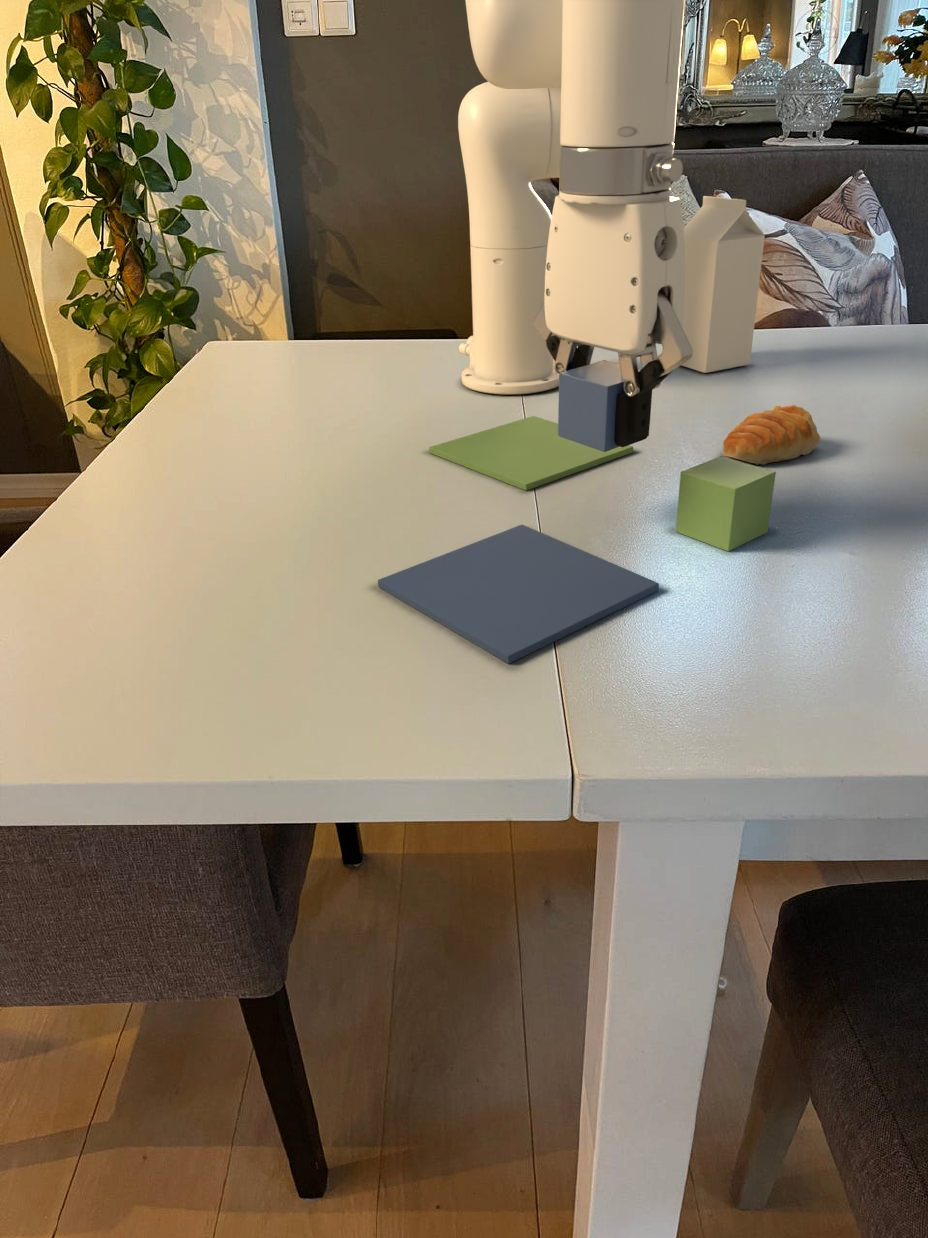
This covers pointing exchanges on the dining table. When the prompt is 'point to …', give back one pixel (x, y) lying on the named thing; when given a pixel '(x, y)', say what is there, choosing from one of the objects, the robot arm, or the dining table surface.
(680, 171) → the robot arm
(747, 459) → the pastry
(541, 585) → the blue mat
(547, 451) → the green mat
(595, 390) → the blue block
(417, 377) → the dining table surface
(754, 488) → the green block
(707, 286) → the milk carton
